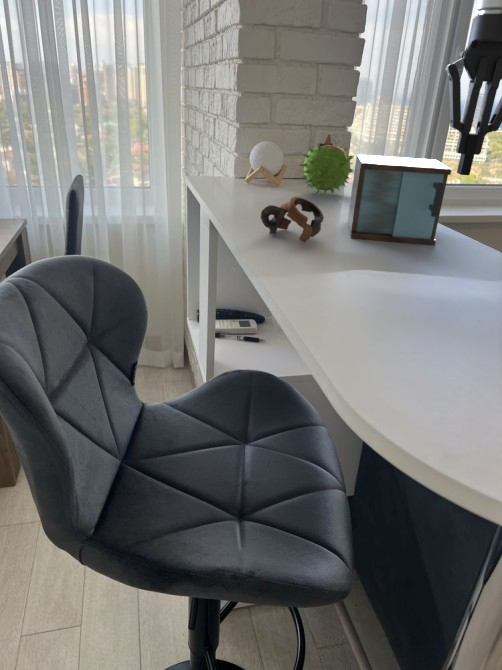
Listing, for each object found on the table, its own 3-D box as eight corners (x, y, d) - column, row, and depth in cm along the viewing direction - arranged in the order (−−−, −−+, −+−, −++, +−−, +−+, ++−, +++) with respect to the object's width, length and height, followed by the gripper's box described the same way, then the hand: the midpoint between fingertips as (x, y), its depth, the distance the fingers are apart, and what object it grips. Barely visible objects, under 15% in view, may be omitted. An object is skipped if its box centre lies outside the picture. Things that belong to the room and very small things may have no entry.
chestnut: (282, 158, 132) (307, 141, 142) (300, 209, 138) (323, 189, 148) (332, 141, 123) (355, 124, 133) (349, 196, 128) (371, 177, 138)
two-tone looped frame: (295, 229, 104) (317, 197, 99) (311, 261, 99) (335, 230, 93) (246, 218, 97) (266, 183, 92) (260, 251, 92) (282, 217, 87)
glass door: (429, 239, 97) (444, 172, 92) (434, 245, 93) (449, 176, 88) (392, 236, 98) (403, 169, 93) (395, 242, 94) (407, 173, 89)
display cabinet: (422, 227, 109) (436, 159, 103) (435, 245, 97) (451, 169, 90) (347, 221, 110) (356, 154, 104) (350, 238, 98) (361, 163, 92)
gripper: (462, 9, 75) (428, 174, 85) (554, 13, 74) (508, 180, 84) (450, 16, 81) (421, 168, 92) (534, 20, 80) (494, 173, 91)
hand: (462, 173), depth 88 cm, fingers closed
